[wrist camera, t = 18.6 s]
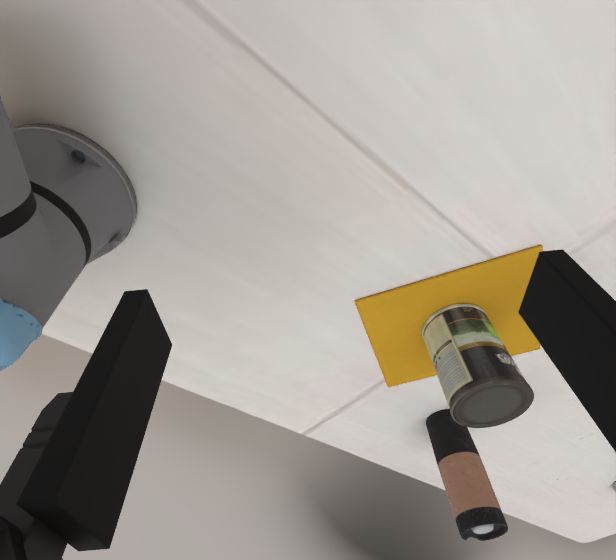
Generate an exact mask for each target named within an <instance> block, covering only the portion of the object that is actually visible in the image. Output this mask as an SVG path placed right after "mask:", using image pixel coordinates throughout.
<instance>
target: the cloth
mask: <svg viewBox="0 0 616 560" xmlns="http://www.w3.org/2000/svg"><path fill="white" fill-rule="evenodd" d="M542 247H543V246H542V245H538V246H535V247H532V248H528V249H525V250H522V251H518V252H515V253H512V254H508V255H505V256H502V257H498V258H495V259H492V260H488V261H485V262H482V263H478V264H475V265H472V266H468V267H465V268H462V269H458V270H455V271H452V272H448V273H445V274H442V275H438V276H435V277H432V278H428V279H425V280H422V281H418V282H415V283H412V284H408V285H405V286H402V287H398V288H395V289H392V290H388V291H385V292H382V293H378V294H375V295H372V296H368V297H365V298H362V299H358V300H355V303H356V306H357V308H358V311H359V314H360V316H361V319H362V321H363V324H364V326H365V329H366V331H367V334H368V337H369V339H370V342H371V344H372V347H373V349H374V352H375V355H376V357H377V360H378V362H379V365H380V367H381V370H382V372H383V375H384V378H385V380H386V383H387V385H388V387H391V386H395V385H399V384H403V383H407V382H411V381H415V380H419V379H423V378H427V377H431V376H435V375H437V373H436V370H435V368H434V365H433V362H432V360H431V357H430V355H429V352H428V349H427V347H426V344H425V342H424V340H423V338H422V328H423V326H424V324H425V322H426V321H427V319H428V318H429V317H430V316H431V315H432V314H434V313H435V312H437V311H438V310H440V309H442V308H444V307H447V306H450V305H454V304H463V303H466V304H473V305H476V306H478V307H480V308H482V309H483V310H484V311H485V312H486V314H487V316H488V319H489V320H490V322H491V324H492V325H493V327H494V329H495V330H496V332H497V334H498V335H499V337H500V339H501V341H502V342H503V344H504V346H505V347H506V349H507V351H508V352H509V354H510V356H513V355H517V354H521V353H525V352H529V351H533V350H537V349H540V343H539V342H538V340H537V339H536V337H535V336H534V334H533V333H532V332H531V330H530V329H529V327H528V326H527V324H526V323H525V322H524V320H523V319H522V317H521V316H520V314H519V313H518V311H519V309H520V306H521V303H522V300H523V297H524V294H525V292H526V289H527V286H528V283H529V280H530V277H531V275H532V272H533V269H534V266H535V263H536V260H537V258H538V255H539V252H542Z"/></svg>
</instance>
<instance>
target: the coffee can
mask: <svg viewBox="0 0 616 560" xmlns="http://www.w3.org/2000/svg"><path fill="white" fill-rule="evenodd" d="M422 338H423V340H424V342H425V344H426V347H427V349H428V352H429V355H430V357H431V360H432V362H433V365H434V368H435V370H436V373H437V376H438V378H439V381H440V384H441V386H442V389H443V392H444V394H445V397H446V400H447V402H448V405H449V408H450V413H451V416H452V418H453V420H454V421H455V422H457V423H458V424H460V425H463V426H466V427H472V428H485V427H492V426H497V425H500V424H503V423H506V422H508V421H511V420H513V419H515V418H516V417H518V416H520V415H521V414H523V413H524V412H525V411H526V410H527V409H528V408H529V407H530V405H531V404H532V402H533V399H534V393H533V390H532V389H531V387H530V386H529V384H528V383H527V382H526V381H525V379H524V377H523V376H522V374H521V372H520V371H519V369H518V367H517V366H516V364H515V362H514V361H513V359H512V357H511V356H510V354H509V352H508V351H507V349H506V347H505V346H504V344H503V342H502V341H501V339H500V337H499V335H498V334H497V332H496V330H495V329H494V327H493V325H492V324H491V322H490V320H489V319H488V316H487V314H486V312H485V311H484V310H483V309H482V308H480V307H478V306H476V305H473V304H466V303H463V304H454V305H450V306H447V307H444V308H442V309H440V310H438V311H437V312H435V313H434V314H432V315H431V316H430V317H429V318H428V319H427V321H426V322H425V324H424V326H423V328H422Z"/></svg>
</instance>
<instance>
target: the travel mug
mask: <svg viewBox="0 0 616 560" xmlns="http://www.w3.org/2000/svg"><path fill="white" fill-rule="evenodd" d="M426 425H427V429H428V432H429V436H430V439H431V443H432V447H433V450H434V454H435V457H436V461H437V464H438V468H439V471H440V474H441V477H442V480H443V483H444V486H445V489H446V492H447V495H448V498H449V502H450V505H451V508H452V511H453V514H454V517H455V520H456V523H457V526H458V529H459V532H460V535H461V537H462V538H463V539H464V540H467V538H468V537H474V538H477V539H478V540H480V541H485V540H490V539H494V538H497V537H499V536H502V535H503V534H505V533H506V532H507V531H508V526H507V523H506V521H505V518H504V516H503V513H502V511H501V508H500V506H499V503H498V501H497V498H496V496H495V493H494V491H493V488H492V486H491V483H490V481H489V478H488V476H487V473H486V471H485V468H484V465H483V463H482V460H481V458H480V456H479V453H478V451H477V449H476V447H475V444H474V442H473V440H472V438H471V435H470V433H469V431H468V429H467V427H466V426H463V425H460V424H458V423H457V422H455V421H454V420H453V418H452V416H451V413H450V410H442V411H438V412H436V413H434V414H432V415H430V416H429V417H428V419H427V421H426Z"/></svg>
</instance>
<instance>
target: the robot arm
mask: <svg viewBox="0 0 616 560" xmlns="http://www.w3.org/2000/svg"><path fill="white" fill-rule="evenodd" d="M136 211H137V205H136V198H135V194H134V190H133V188H132V185H131V183H130V181H129V179H128V177H127V175H126V174H125V172H124V171H123V169H122V168H121V167H120V165H119V164H118V163H117V162H116V161H115V160H114V159H113V158H112V156H110V155H109V154H108V153H107V152H106V151H105V150H104V149H102V148H101V147H100V146H99V145H97V144H96V143H94V142H93V141H91V140H90V139H88V138H86V137H84V136H82V135H80V134H78V133H76V132H74V131H71V130H69V129H65V128H62V127H58V126H54V125H47V124H28V125H22V126H19V127H16V128H13V129H11V126H10V123H9V120H8V117H7V114H6V111H5V108H4V105H3V102H2V100H1V97H0V370H3V369H5V368H7V367H8V366H9V365H11V364H13V363H14V362H15V361H16V360H17V359H18V358H19V357H20V356H21V355H22V354H23V352H24V351H25V350H26V349H27V348H28V346H29V345H30V344H31V343H32V342H33V341H34V340H36V339H37V338H38V337H39V336H40V335H41V333H42V328H43V327H44V325H45V324H46V322H47V321H48V319H49V318H50V317H51V315H52V314H53V312H54V311H55V309H56V308H57V306H58V305H59V303H60V302H61V300H62V299H63V297H64V296H65V294H66V293H67V291H68V290H69V288H70V287H71V286H72V284H73V283H74V281H75V280H76V278H77V277H78V275H79V274H80V273H81V271H82V269H83V268H84V267H85V265H86V264H88V263H90V262H92V261H93V260H95V259H97V258H99V257H101V256H102V255H104V254H106V253H108V252H110V251H111V250H113V249H114V248H116V247H117V246H118V245H119V244H120V243H121V242H122V241H123V240H124V239H125V238H126V236H127V235H128V233H129V232H130V230H131V228H132V226H133V224H134V221H135V218H136ZM518 313H519V314H520V316H521V317H522V319H523V320H524V322H525V323H526V324H527V326H528V327H529V329H530V330H531V332H532V333H533V334H534V336H535V337H536V339H537V340H538V342H539V343H540V344H541V346H542V347H543V349H544V350H545V352H546V353H547V354H548V356H549V357H550V359H551V360H552V362H553V363H554V364H555V366H556V367H557V369H558V370H559V372H560V373H561V374H562V376H563V377H564V379H565V380H566V382H567V383H568V384H569V386H570V387H571V389H572V390H573V392H574V393H575V395H576V396H577V397H578V399H579V400H580V402H581V403H582V405H583V406H584V407H585V409H586V410H587V412H588V413H589V415H590V416H591V417H592V419H593V420H594V422H595V423H596V425H597V426H598V427H599V429H600V430H601V432H602V433H603V435H604V436H605V437H606V439H607V440H608V442H609V443H610V445H611V446H612V447H613V449H614V450H615V452H616V301H615V300H614V299H613V298H612V297H611V296H610V295H609V294H608V293H607V292H606V291H605V290H604V289H603V288H602V287H601V286H600V285H599V284H598V283H597V282H595V281H594V280H593V279H592V278H591V277H590V276H589V275H588V274H587V273H586V272H585V271H584V270H583V269H582V268H581V267H580V266H579V265H578V264H577V263H576V262H575V261H574V260H573V259H572V258H571V257H570V256H569V255H568V254H567V253H566V252H565V251H564V250H553V251H543V252H539V255H538V258H537V260H536V263H535V266H534V269H533V272H532V275H531V277H530V280H529V283H528V286H527V289H526V292H525V294H524V297H523V300H522V303H521V306H520V309H519V311H518ZM171 347H172V343H171V341H170V339H169V337H168V334H167V332H166V330H165V328H164V325H163V323H162V321H161V319H160V317H159V314H158V312H157V310H156V308H155V305H154V303H153V301H152V299H151V297H150V294H149V292H148V290H147V289H146V290H135V291H125V292H124V294H123V296H122V298H121V300H120V302H119V304H118V306H117V308H116V310H115V312H114V313H113V315H112V317H111V319H110V321H109V323H108V325H107V327H106V329H105V331H104V333H103V335H102V337H101V339H100V341H99V343H98V345H97V347H96V349H95V351H94V353H93V355H92V356H91V358H90V361H89V362H88V364H87V366H86V368H85V370H84V372H83V374H82V376H81V378H80V380H79V382H78V384H77V386H76V388H75V390H74V392H68V393H58V394H57V395H56V396H55V397H54V399H53V400H52V401H51V402H50V403H49V404H48V405H47V406H46V407H45V408H44V409H43V410H42V411H41V413H40V415H39V417H38V418H37V420H36V422H35V424H34V426H33V427H32V432H31V433H29V434H28V436H27V438H26V440H25V442H24V443H23V448H22V449H20V451H19V452H18V454H17V456H16V458H15V459H14V461H13V463H12V465H11V466H10V468H9V470H8V472H7V474H6V476H5V477H4V479H3V481H2V482H1V484H0V560H63V559H62V556H63V553H64V550H65V548H66V545H67V543H68V544H70V545H71V546H72V547H74V548H75V549H76V550H78V551H86V550H99V549H109V548H110V545H111V542H112V538H113V535H114V532H115V529H116V526H117V522H118V519H119V516H120V513H121V509H122V506H123V503H124V500H125V496H126V493H127V490H128V487H129V483H130V480H131V477H132V474H133V470H134V467H135V464H136V461H137V457H138V454H139V450H140V448H141V444H142V441H143V438H144V435H145V431H146V428H147V425H148V422H149V418H150V415H151V412H152V409H153V405H154V402H155V399H156V395H157V392H158V389H159V386H160V383H161V379H162V376H163V373H164V370H165V366H166V363H167V360H168V357H169V353H170V350H171Z"/></svg>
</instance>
